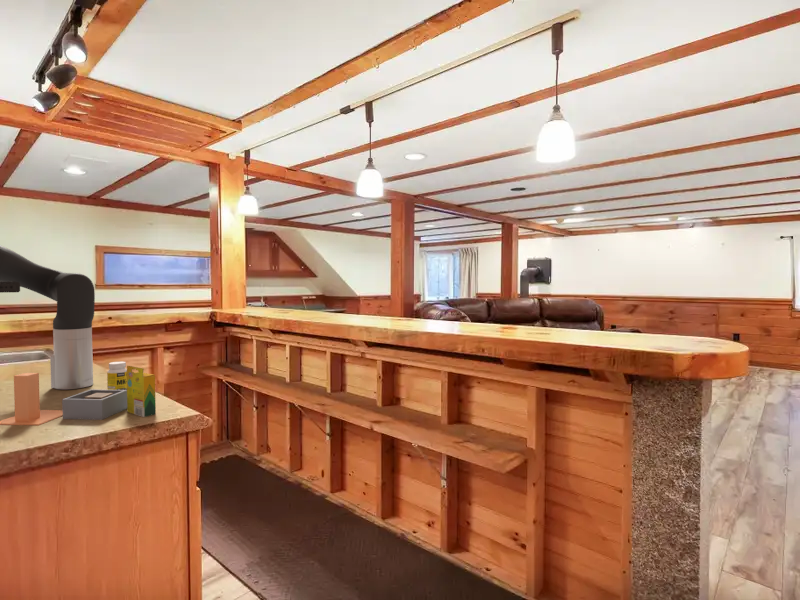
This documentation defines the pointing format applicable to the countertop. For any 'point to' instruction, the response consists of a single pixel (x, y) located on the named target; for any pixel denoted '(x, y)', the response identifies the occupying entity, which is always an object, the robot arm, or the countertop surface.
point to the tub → (94, 405)
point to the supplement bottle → (117, 376)
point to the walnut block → (98, 395)
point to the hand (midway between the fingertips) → (18, 286)
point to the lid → (29, 403)
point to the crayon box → (140, 392)
